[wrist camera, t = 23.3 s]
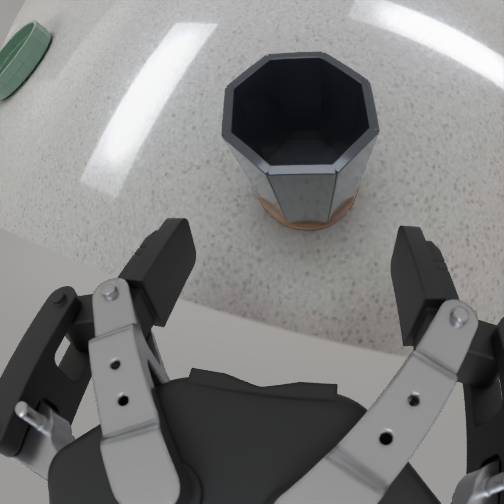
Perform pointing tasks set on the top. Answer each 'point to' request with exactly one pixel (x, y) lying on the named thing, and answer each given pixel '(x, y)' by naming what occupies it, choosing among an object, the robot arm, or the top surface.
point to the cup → (301, 132)
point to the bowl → (21, 56)
